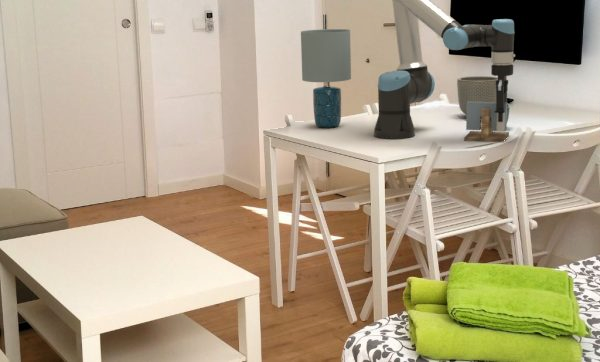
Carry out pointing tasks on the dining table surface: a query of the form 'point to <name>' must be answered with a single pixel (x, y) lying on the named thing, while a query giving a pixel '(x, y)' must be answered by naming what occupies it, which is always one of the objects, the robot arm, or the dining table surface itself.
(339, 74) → the lamp
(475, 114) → the slotted board
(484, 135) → the jig
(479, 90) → the planter
